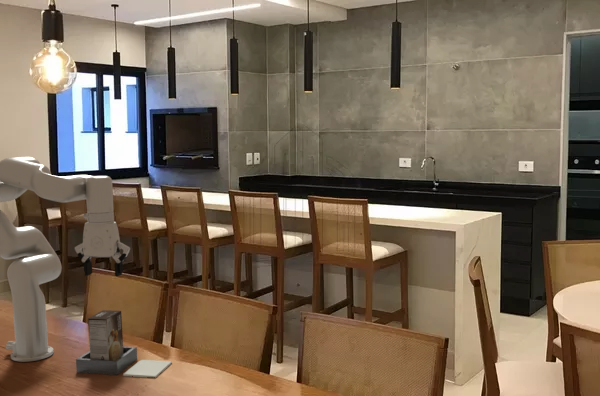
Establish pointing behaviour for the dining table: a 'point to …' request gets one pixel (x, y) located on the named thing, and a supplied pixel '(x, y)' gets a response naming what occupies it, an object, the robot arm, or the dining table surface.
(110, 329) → the coffee box
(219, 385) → the dining table surface
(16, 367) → the dining table surface
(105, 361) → the holder
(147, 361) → the placemat
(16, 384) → the dining table surface
